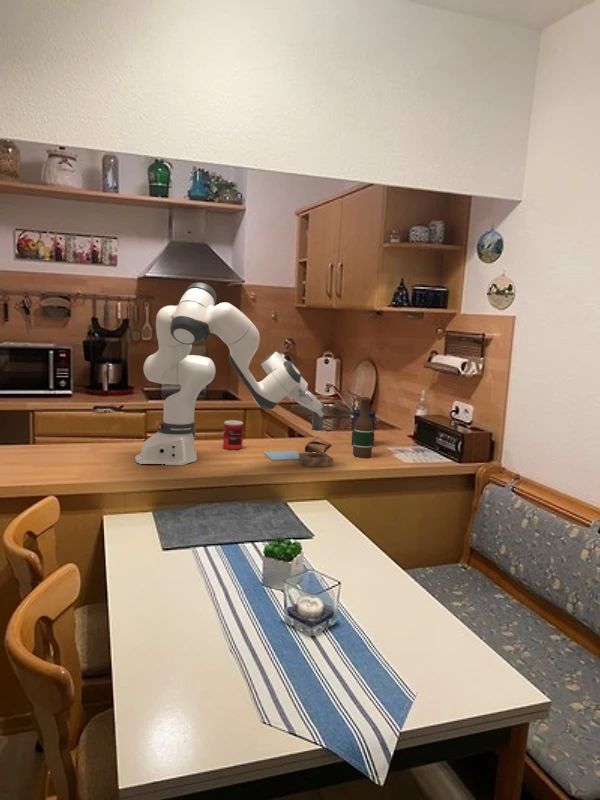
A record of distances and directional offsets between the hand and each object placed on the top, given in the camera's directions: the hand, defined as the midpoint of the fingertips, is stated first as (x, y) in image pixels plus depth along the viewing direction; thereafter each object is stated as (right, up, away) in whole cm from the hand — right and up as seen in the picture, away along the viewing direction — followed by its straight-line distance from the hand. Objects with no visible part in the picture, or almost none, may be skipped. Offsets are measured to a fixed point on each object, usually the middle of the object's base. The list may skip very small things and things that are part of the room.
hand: (319, 414), depth 229 cm
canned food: (-35, -15, +21) cm, 43 cm away
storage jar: (+20, -15, +40) cm, 47 cm away
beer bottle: (+18, -18, +18) cm, 31 cm away
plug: (-1, -6, +1) cm, 6 cm away
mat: (-14, -17, +11) cm, 24 cm away
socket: (-1, -19, +2) cm, 19 cm away
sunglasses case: (+1, -16, +29) cm, 33 cm away
